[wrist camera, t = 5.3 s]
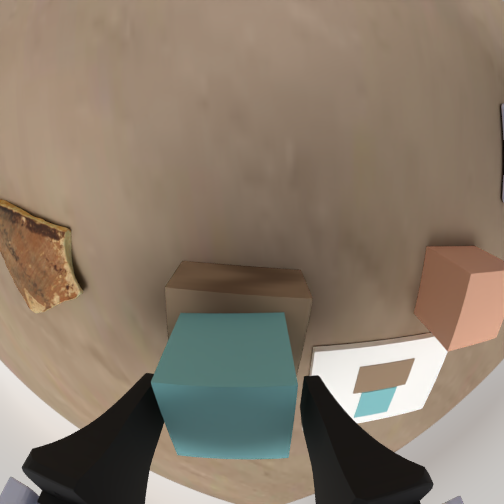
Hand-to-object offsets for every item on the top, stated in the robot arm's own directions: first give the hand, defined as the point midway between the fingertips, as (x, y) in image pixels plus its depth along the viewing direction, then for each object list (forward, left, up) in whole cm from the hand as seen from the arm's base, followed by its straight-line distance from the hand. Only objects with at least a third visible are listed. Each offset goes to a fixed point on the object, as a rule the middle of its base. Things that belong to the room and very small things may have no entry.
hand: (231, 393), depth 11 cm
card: (-11, +7, -7) cm, 15 cm away
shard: (+16, -4, -7) cm, 18 cm away
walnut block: (0, 0, -7) cm, 7 cm away
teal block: (0, 0, -3) cm, 3 cm away
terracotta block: (-15, -2, -7) cm, 17 cm away
